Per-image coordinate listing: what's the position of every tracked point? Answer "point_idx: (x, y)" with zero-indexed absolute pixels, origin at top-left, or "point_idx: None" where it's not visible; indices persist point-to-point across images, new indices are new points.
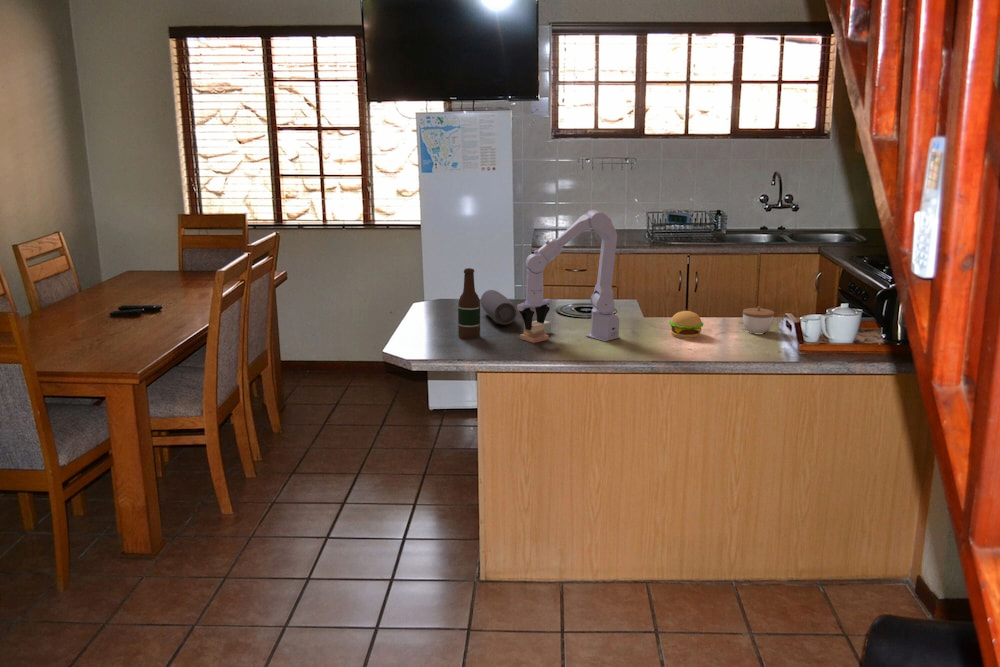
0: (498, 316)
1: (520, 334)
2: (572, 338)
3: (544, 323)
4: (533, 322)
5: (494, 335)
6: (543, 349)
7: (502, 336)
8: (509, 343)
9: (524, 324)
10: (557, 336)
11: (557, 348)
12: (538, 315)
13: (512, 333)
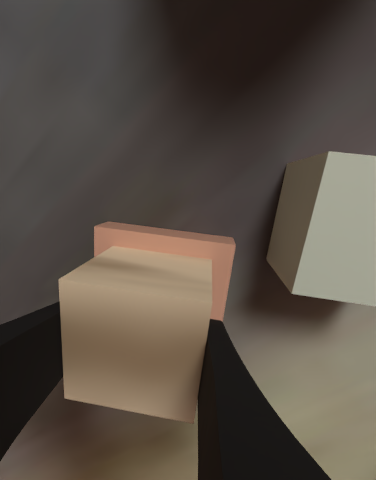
0: None
1: (98, 227)
2: (316, 420)
3: (348, 298)
4: (160, 327)
5: (37, 19)
6: (66, 410)
7: (64, 90)
8: (3, 240)
9: (65, 283)
10: (303, 348)
11: (121, 442)
12: (208, 432)
13: (172, 81)
